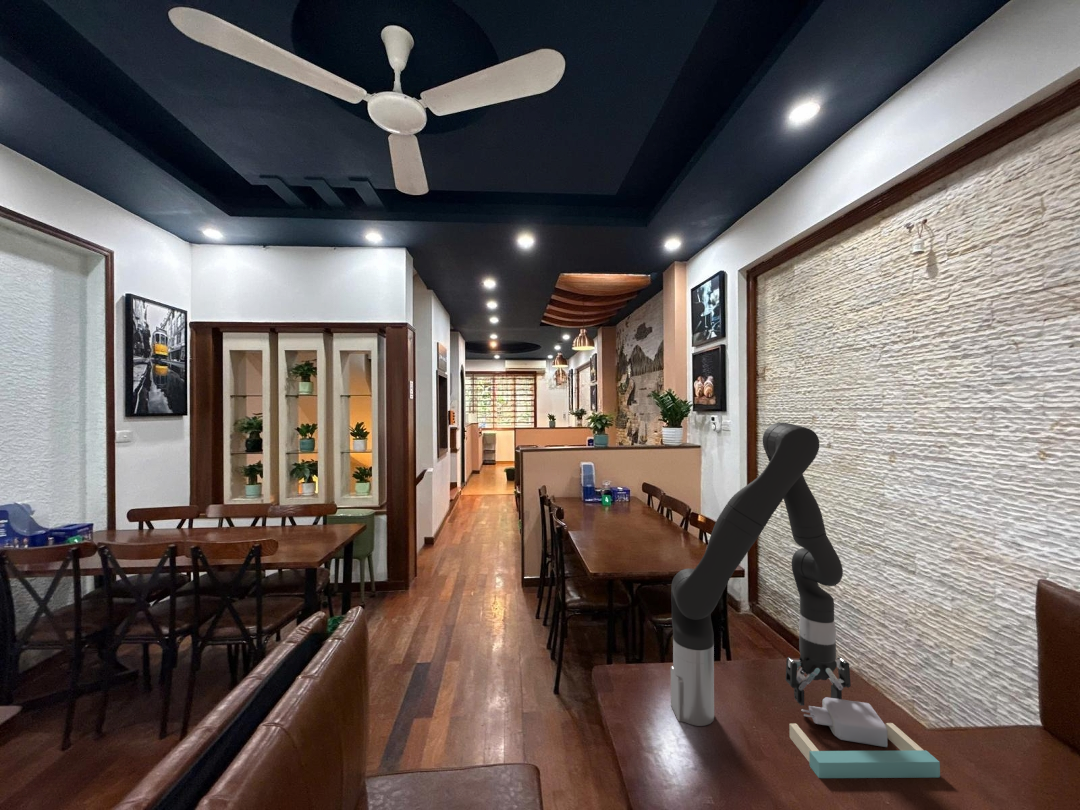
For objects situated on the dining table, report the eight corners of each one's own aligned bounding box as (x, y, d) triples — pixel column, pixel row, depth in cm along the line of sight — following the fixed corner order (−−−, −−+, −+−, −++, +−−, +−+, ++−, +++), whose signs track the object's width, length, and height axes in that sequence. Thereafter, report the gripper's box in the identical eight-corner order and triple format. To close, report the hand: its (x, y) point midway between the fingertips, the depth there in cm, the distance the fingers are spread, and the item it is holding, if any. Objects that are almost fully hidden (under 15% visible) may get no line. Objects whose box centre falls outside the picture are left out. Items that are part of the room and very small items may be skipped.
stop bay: (819, 778, 87) (818, 762, 87) (787, 737, 98) (787, 723, 98) (940, 777, 87) (939, 761, 87) (894, 736, 98) (894, 723, 98)
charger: (796, 710, 107) (867, 721, 104) (809, 737, 98) (887, 750, 95) (796, 690, 107) (867, 700, 104) (809, 715, 98) (887, 727, 95)
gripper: (797, 643, 103) (797, 714, 102) (857, 643, 103) (858, 713, 103) (779, 627, 110) (779, 693, 110) (835, 627, 110) (836, 693, 110)
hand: (818, 703), depth 106 cm, fingers open, 8 cm apart
